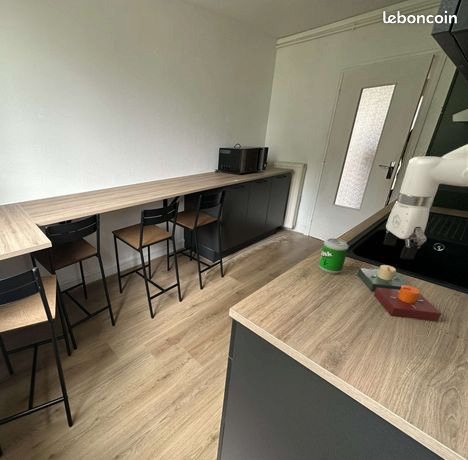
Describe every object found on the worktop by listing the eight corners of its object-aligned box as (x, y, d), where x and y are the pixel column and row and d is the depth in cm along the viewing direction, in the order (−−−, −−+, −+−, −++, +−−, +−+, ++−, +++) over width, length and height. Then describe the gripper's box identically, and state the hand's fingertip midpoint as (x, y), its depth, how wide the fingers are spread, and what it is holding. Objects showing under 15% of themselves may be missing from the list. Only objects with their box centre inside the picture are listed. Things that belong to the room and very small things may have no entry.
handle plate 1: (392, 278, 90) (395, 270, 88) (410, 295, 81) (413, 287, 80) (357, 275, 92) (359, 267, 91) (370, 291, 83) (373, 283, 82)
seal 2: (410, 295, 76) (414, 285, 75) (419, 304, 72) (424, 293, 71) (394, 294, 77) (398, 283, 76) (402, 302, 73) (407, 291, 72)
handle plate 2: (414, 299, 79) (418, 291, 78) (437, 321, 70) (441, 312, 69) (373, 294, 82) (376, 286, 80) (390, 316, 73) (394, 307, 72)
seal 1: (376, 272, 88) (380, 263, 86) (391, 276, 86) (395, 266, 84) (377, 278, 85) (381, 268, 83) (393, 281, 83) (397, 271, 81)
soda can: (339, 266, 98) (347, 239, 93) (342, 276, 92) (351, 247, 87) (317, 263, 101) (323, 236, 96) (319, 272, 95) (326, 244, 90)
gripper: (384, 192, 83) (370, 239, 89) (418, 208, 68) (399, 263, 74) (411, 192, 81) (396, 240, 87) (453, 209, 66) (430, 265, 72)
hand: (397, 251), depth 81 cm, fingers open, 9 cm apart
